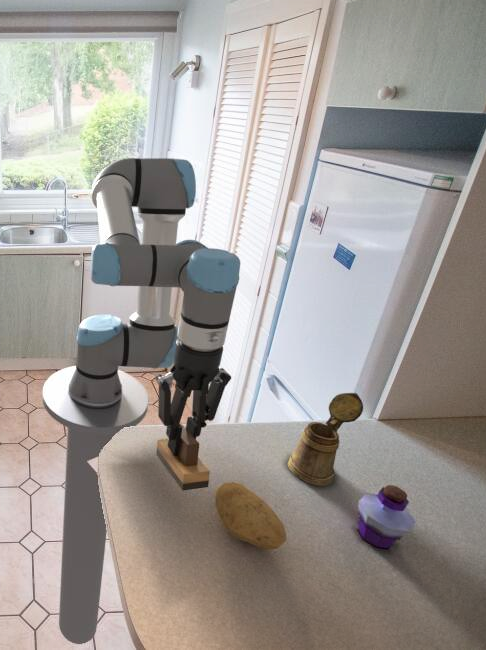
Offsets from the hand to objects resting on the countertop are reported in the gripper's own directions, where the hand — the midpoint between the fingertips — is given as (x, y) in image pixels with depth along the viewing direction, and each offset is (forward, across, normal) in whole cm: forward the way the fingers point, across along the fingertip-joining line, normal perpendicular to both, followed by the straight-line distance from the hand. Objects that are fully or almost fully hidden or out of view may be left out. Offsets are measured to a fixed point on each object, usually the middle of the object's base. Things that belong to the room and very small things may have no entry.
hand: (180, 449), depth 86 cm
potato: (+16, +12, -8) cm, 21 cm away
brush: (+4, 0, -2) cm, 4 cm away
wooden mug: (+16, +38, +5) cm, 41 cm away
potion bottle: (+16, +36, -13) cm, 41 cm away
